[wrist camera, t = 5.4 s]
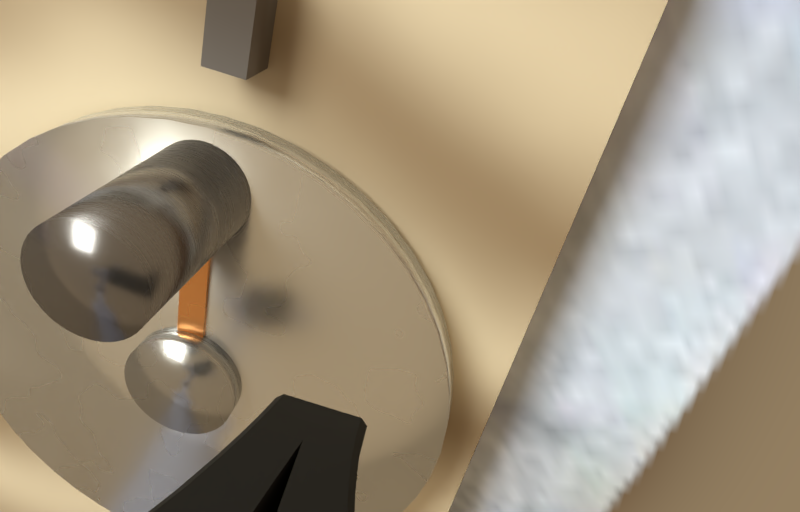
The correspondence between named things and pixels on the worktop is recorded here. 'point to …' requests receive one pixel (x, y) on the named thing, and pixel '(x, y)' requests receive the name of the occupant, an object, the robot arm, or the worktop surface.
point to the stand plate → (365, 140)
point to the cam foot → (205, 305)
